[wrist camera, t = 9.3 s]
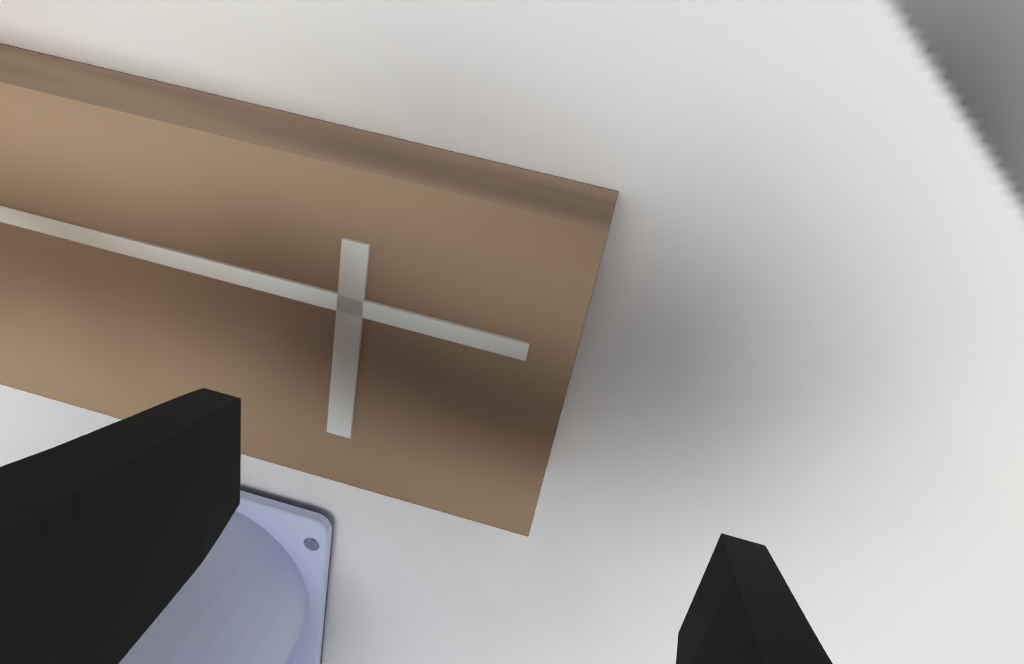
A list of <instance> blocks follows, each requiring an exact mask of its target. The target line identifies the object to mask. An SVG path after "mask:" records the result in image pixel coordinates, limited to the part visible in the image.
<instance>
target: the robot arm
mask: <svg viewBox="0 0 1024 664" xmlns="http://www.w3.org/2000/svg"><path fill="white" fill-rule="evenodd" d="M240 456H241V398H238V397H235V396H231V395H228V394H224V393H220V392H217V391H213V390H210V389H206V388H201V389H198V390H196V391H193V392H190V393H187V394H184V395H182V396H179V397H177V398H174V399H172V400H169V401H167V402H164V403H162V404H159V405H157V406H154V407H152V408H150V409H147V410H145V411H142V412H140V413H137V414H135V415H133V416H130V417H128V418H125V419H123V420H121V421H118V422H116V423H113V424H111V425H108V426H106V427H103V428H101V429H98V430H96V431H93V432H91V433H89V434H86V435H84V436H81V437H79V438H76V439H74V440H71V441H69V442H66V443H64V444H61V445H59V446H56V447H54V448H51V449H48V450H46V451H43V452H40V453H37V454H35V455H32V456H29V457H27V458H24V459H21V460H18V461H16V462H13V463H10V464H7V465H5V466H2V467H0V664H320V658H321V647H322V636H323V625H324V614H325V603H326V592H327V581H328V570H329V559H330V548H331V537H332V525H331V523H330V521H329V520H328V519H327V518H326V517H325V516H324V515H321V514H319V513H316V512H313V511H309V510H306V509H302V508H299V507H296V506H292V505H289V504H285V503H282V502H279V501H275V500H272V499H268V498H265V497H262V496H258V495H255V494H251V493H248V492H245V491H241V490H240ZM312 538H313V539H315V540H316V541H317V542H316V541H314V540H312ZM676 664H832V662H831V660H830V659H829V657H828V655H827V654H826V652H825V650H824V649H823V647H822V645H821V643H820V642H819V640H818V638H817V637H816V635H815V633H814V631H813V630H812V628H811V626H810V624H809V622H808V621H807V619H806V617H805V615H804V614H803V612H802V610H801V608H800V607H799V605H798V603H797V601H796V599H795V598H794V596H793V594H792V592H791V591H790V589H789V587H788V585H787V583H786V582H785V580H784V578H783V576H782V574H781V573H780V571H779V569H778V567H777V566H776V564H775V562H774V560H773V558H772V557H771V555H770V553H769V551H768V550H767V548H766V546H764V545H761V544H757V543H754V542H750V541H747V540H743V539H740V538H736V537H732V536H729V535H725V534H722V533H721V536H720V538H719V540H718V543H717V545H716V547H715V550H714V552H713V554H712V557H711V559H710V561H709V564H708V566H707V568H706V570H705V573H704V575H703V577H702V580H701V582H700V584H699V587H698V589H697V591H696V594H695V596H694V598H693V601H692V603H691V605H690V608H689V610H688V612H687V615H686V617H685V619H684V622H683V624H682V626H681V629H680V631H679V633H678V646H677V658H676Z"/></svg>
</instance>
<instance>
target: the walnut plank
mask: <svg viewBox="0 0 1024 664" xmlns="http://www.w3.org/2000/svg"><path fill="white" fill-rule="evenodd" d="M617 196H618V191H614V190H610V189H606V188H602V187H598V186H593V185H589V184H585V183H581V182H577V181H573V180H568V179H564V178H560V177H556V176H552V175H547V174H543V173H539V172H535V171H531V170H527V169H522V168H518V167H514V166H510V165H506V164H502V163H497V162H493V161H489V160H485V159H481V158H476V157H472V156H468V155H464V154H460V153H456V152H451V151H447V150H443V149H439V148H435V147H431V146H426V145H422V144H418V143H414V142H410V141H405V140H401V139H397V138H393V137H389V136H385V135H380V134H376V133H372V132H368V131H364V130H360V129H355V128H351V127H347V126H343V125H339V124H334V123H330V122H326V121H322V120H318V119H314V118H309V117H305V116H301V115H297V114H293V113H289V112H284V111H280V110H276V109H272V108H268V107H263V106H259V105H255V104H251V103H247V102H243V101H238V100H234V99H230V98H226V97H222V96H218V95H213V94H209V93H205V92H201V91H197V90H193V89H188V88H184V87H180V86H176V85H172V84H167V83H163V82H159V81H155V80H151V79H147V78H142V77H138V76H134V75H130V74H126V73H122V72H117V71H113V70H109V69H105V68H101V67H96V66H92V65H88V64H84V63H80V62H76V61H71V60H67V59H63V58H59V57H55V56H51V55H46V54H42V53H38V52H34V51H30V50H25V49H21V48H17V47H13V46H9V45H5V44H0V384H2V385H5V386H9V387H12V388H15V389H19V390H22V391H26V392H29V393H33V394H36V395H40V396H43V397H47V398H50V399H54V400H57V401H60V402H64V403H67V404H71V405H74V406H78V407H81V408H85V409H88V410H92V411H95V412H99V413H102V414H105V415H109V416H112V417H116V418H119V419H125V418H128V417H130V416H133V415H135V414H137V413H140V412H142V411H145V410H147V409H150V408H152V407H154V406H157V405H159V404H162V403H164V402H167V401H169V400H172V399H174V398H177V397H179V396H182V395H184V394H187V393H190V392H193V391H196V390H198V389H201V388H206V389H210V390H213V391H217V392H220V393H224V394H228V395H231V396H235V397H238V398H241V454H244V455H247V456H251V457H254V458H258V459H261V460H265V461H268V462H272V463H275V464H278V465H282V466H285V467H289V468H292V469H296V470H299V471H303V472H306V473H310V474H313V475H317V476H320V477H323V478H327V479H330V480H334V481H337V482H341V483H344V484H348V485H351V486H355V487H358V488H362V489H365V490H368V491H372V492H375V493H379V494H382V495H386V496H389V497H393V498H396V499H400V500H403V501H407V502H410V503H413V504H417V505H420V506H424V507H427V508H431V509H434V510H438V511H441V512H445V513H448V514H452V515H455V516H458V517H462V518H465V519H469V520H472V521H476V522H479V523H483V524H486V525H490V526H493V527H497V528H500V529H503V530H507V531H510V532H514V533H517V534H521V535H524V536H528V535H529V531H530V528H531V524H532V520H533V516H534V512H535V509H536V505H537V501H538V497H539V493H540V490H541V486H542V482H543V478H544V474H545V471H546V467H547V463H548V459H549V455H550V452H551V448H552V444H553V440H554V436H555V432H556V429H557V425H558V421H559V417H560V413H561V410H562V406H563V402H564V398H565V394H566V391H567V387H568V383H569V379H570V375H571V372H572V368H573V364H574V360H575V356H576V353H577V349H578V345H579V341H580V337H581V334H582V330H583V326H584V322H585V318H586V315H587V311H588V307H589V303H590V299H591V295H592V292H593V288H594V284H595V280H596V276H597V273H598V269H599V265H600V261H601V257H602V254H603V250H604V246H605V242H606V238H607V235H608V231H609V227H610V223H611V219H612V215H613V211H614V207H615V204H616V200H617Z"/></svg>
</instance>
